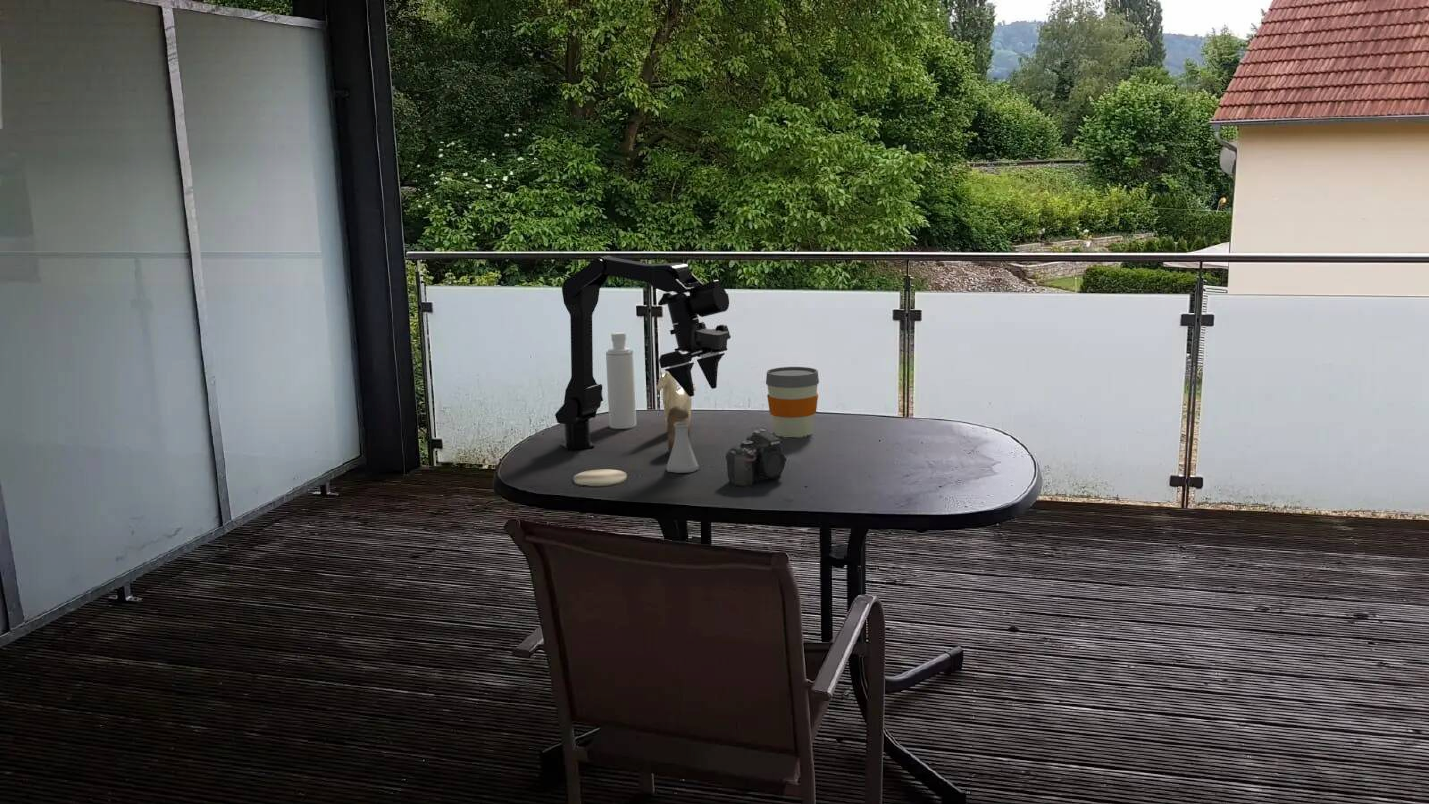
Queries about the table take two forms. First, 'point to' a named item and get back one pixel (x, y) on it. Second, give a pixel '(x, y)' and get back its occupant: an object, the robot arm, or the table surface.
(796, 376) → the reusable coffee cup
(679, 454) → the flask
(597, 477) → the coaster
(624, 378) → the spray bottle
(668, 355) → the robot arm
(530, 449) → the table surface
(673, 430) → the pepper shaker
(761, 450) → the camera
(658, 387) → the unicorn
